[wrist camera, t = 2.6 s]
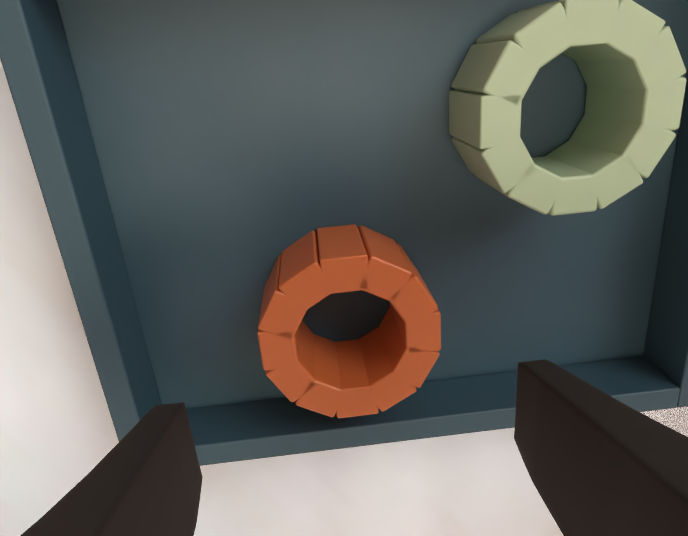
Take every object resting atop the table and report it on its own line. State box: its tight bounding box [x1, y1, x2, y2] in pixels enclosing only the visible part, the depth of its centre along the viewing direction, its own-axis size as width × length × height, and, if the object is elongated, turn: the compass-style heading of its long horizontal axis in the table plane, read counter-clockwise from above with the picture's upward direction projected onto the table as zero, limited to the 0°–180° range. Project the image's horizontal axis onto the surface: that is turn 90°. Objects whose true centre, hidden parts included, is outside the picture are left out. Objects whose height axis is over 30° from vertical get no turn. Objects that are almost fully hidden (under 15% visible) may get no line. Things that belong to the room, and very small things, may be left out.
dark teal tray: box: [0, 0, 688, 466], centre depth 15 cm, size 19×15×2 cm
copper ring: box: [257, 224, 441, 418], centre depth 15 cm, size 5×5×3 cm
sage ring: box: [449, 0, 686, 216], centre depth 14 cm, size 5×5×3 cm
